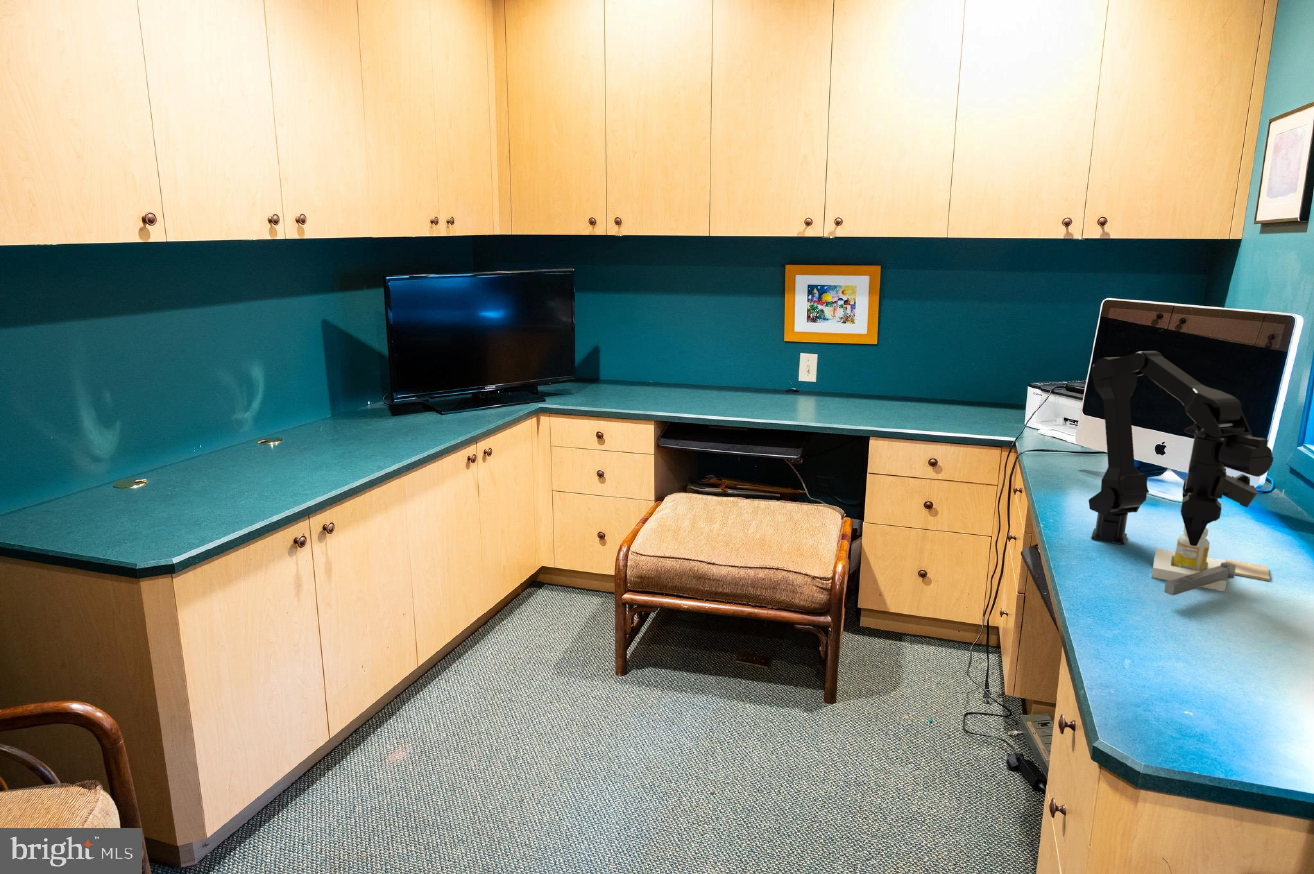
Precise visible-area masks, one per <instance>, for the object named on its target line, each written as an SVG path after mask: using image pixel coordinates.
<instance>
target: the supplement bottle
mask: <svg viewBox="0 0 1314 874" xmlns="http://www.w3.org/2000/svg"><path fill="white" fill-rule="evenodd" d="M1182 531H1183V534H1181V535H1179V536H1178V538H1177V542H1176V547H1175V548H1176V549H1175V558H1174V563H1173V565H1172V566H1175V567H1180V568H1185V569H1190V570H1196V571H1204V570H1205V566H1206V561H1207V557H1208V555H1209V550H1210V544H1211V543H1210V541H1209V539H1208V538H1207V537H1208V535H1209V529H1208V528H1207V527H1206V528H1205V530H1204V532H1203V534H1202V536H1201V538H1200V540H1199V542H1198V544H1197V546H1192V545H1190V543H1189V539H1188V536H1187V532H1186V529H1185V525H1184V526H1183V530H1182Z"/></svg>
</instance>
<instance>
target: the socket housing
mask: <svg viewBox="0 0 1314 874" xmlns="http://www.w3.org/2000/svg"><path fill="white" fill-rule="evenodd" d="M1175 552H1176V550H1171V549H1170V550H1169V549H1164V548H1158V547H1156V548H1155V552H1154V558H1153V566H1152V571H1151V578H1154V579H1155V578H1156V579H1160V580H1164V581H1171V580H1174V579H1177V578H1181V577H1184V576H1187V575H1191V574H1194V573H1197V572H1201V571H1196V570H1190V569H1185V568H1180V567H1175V566H1173V563H1174V558H1175ZM1223 562H1226V559H1225V560H1224V559H1219V558H1218V559H1217V558H1214V557H1212V558H1211V557H1208V556H1207V561H1206V566H1205V570H1207V569H1210V568H1214V567H1217V566H1220V565H1221V563H1223ZM1226 585H1227V579H1224V580H1221V581H1217V582H1214V583H1211V584H1208V585H1205V586H1202V587H1201V588H1205V589H1210V590H1215V589H1216V590H1215V591H1221V592H1225V591H1226Z"/></svg>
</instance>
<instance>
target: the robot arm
mask: <svg viewBox="0 0 1314 874" xmlns="http://www.w3.org/2000/svg"><path fill="white" fill-rule="evenodd" d="M1091 375H1092V381H1093V385H1094V389H1095V390H1096V391H1097V393H1098V394H1099V396H1100V397H1101V399H1102V400H1103V411H1104V425H1105V437H1106V439H1105V441H1106V452H1107V453H1106V454H1107V469H1106V470H1105V472H1104V474H1103V477H1102V479H1101V481H1100V482H1101V485H1100V491H1099V492H1098V493H1096V494H1095V495H1093V496H1091V497H1090V498H1088V505H1089V506H1088V507H1089V510H1091V511H1093V512H1095V513H1097V516H1096V522H1095V523H1096V524H1095V527H1094V528H1093V531H1092V534H1091V536H1090V537H1091V538H1090V539H1093V540H1097V541H1103V542H1108V543H1114V544H1118V545H1125V544H1126V541H1127V537H1128V536H1127V535H1128V534H1127V533H1126V528H1127V520H1128V516H1129V515H1128V514H1130V513H1138V511H1139V509H1140V507H1141V506H1142V505H1143V503H1144V502H1146V501H1147V495H1148V494H1150V491H1149V488H1148V476H1147V474H1146V473H1141V472H1140V471H1139V470H1138V468H1137V466H1136V465H1135V464H1136V463H1135V454H1134V453H1135V451H1134V450H1135V449H1134V439H1133V427H1132V425H1133V424H1132V413H1131V411H1132V410H1131V397H1132V395H1133V393H1134V390H1135V389H1136V387H1137V384H1138V377H1139V376H1143V375H1144V376H1145V377H1147V378H1148V379H1150V380H1151V381H1153V383H1155V384H1156V385H1158V386H1159V387H1160V388H1162V389H1163V390H1164V391H1166V392H1167V393H1168V394H1169V395H1171V396H1172V397H1174V398H1176V399H1177V400H1178V401H1180V403H1181V404H1182V405H1183V407H1184V410H1185V413H1186V414H1187V416H1189V418H1190V419H1191V420H1193V422H1194V423H1193V424H1192V425H1191V426H1189V427H1187V428H1185V429H1184V432H1185V433H1186V434H1189V435H1193V436H1194V439H1193V443H1192V448H1191V455H1190V459H1189V463H1188V471H1187V477H1185V478H1184V480H1183V486H1182V499H1181V500H1182V501H1181V504H1180V515H1181V518H1182V521H1183V525H1184V526H1185V529H1186V532H1187V536H1188V539H1189V543H1190V545H1192V546H1197V544H1198V542H1199V540H1200V538H1201V536H1202V534H1203V532H1204V530H1205V528H1207V526H1208V524H1210V523H1213V522H1217V521H1218V520H1219V519H1220V518H1221V515H1222V514H1221V513H1222V503H1221V502H1220V501H1219V499H1223V496H1224V498H1225V497H1226V498H1227V499H1230V500H1232V501H1234V502H1236V503H1238V504H1239V506H1241V507H1244V508H1249V506H1250V505H1251V503H1252V502H1253V501H1254V499H1255V498H1256V496H1257V495H1258V489H1257V488H1256V487H1255V485H1251V478H1250V476H1253V477H1256V478H1257V477H1262V476H1263V475H1265V474H1266V473H1268V471H1269V470H1271V467H1272V465H1273V462H1274V456H1273V451H1272V449H1271V448H1270V447H1269V446H1268V443H1269V440H1268V439H1267V438H1264V437H1255V436H1253V432H1252V430H1251V428H1250V425H1249V424H1248V421H1247V419H1246V417H1245V415H1244V412H1243V410H1242V409H1243V408H1242V403H1241V401H1240V400H1239V399H1238V398H1236V397H1235V396H1234V395H1231V394H1229V393H1226V392H1224V391H1223V390H1219V389H1215V388H1211V387H1208V386H1206V385H1203V384H1202V383H1200V382H1199V381H1198V380H1196V379H1195V378H1193V377H1192V376H1191V375H1189V374H1188V373H1186V372H1185V371H1183V370H1182V369H1181V368H1179V366H1178V367H1177V366H1176V365H1175V364H1174V363H1172V362H1171V361H1169V360H1168V359H1166V358H1165V357H1164V355H1163V354H1162V353H1161V352H1158V351H1157V350H1147V351H1146V350H1144V351H1143V350H1142V351H1137V352H1135V353H1131V354H1129V355H1125V356H1117V357H1115V356H1114V357H1113V356H1111V357H1101V358H1099V359H1097V360H1096V362H1095V363H1094V364H1093V365H1092V368H1091ZM1230 426H1231V427H1230ZM1227 469H1230V470H1233V471H1236V472H1239V473H1241V474H1239V475H1236V476H1234V475H1233V476H1231V475H1228V474H1227ZM1243 473H1244V474H1243ZM1248 475H1249V476H1248Z"/></svg>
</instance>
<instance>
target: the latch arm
mask: <svg viewBox="0 0 1314 874" xmlns="http://www.w3.org/2000/svg"><path fill="white" fill-rule="evenodd" d="M1235 569H1236V565H1234V564H1231V563H1226V561H1225V562H1223V563H1221V565H1220V566H1217V567H1214V568H1210V569H1207V570H1204V571H1201V572H1197V573H1194V574H1191V575H1187V576H1184V577H1181V578H1177V579H1174V580H1171V581H1169V580H1167V581H1165V585H1164V589H1163V590H1164V591H1163V592H1164V593H1165V594H1167V595H1170V596H1172V597H1173V596H1175V595H1180V594H1182V593H1185V592H1189V591H1191V590H1195V589H1198V588H1203V587H1202V586H1205V585H1208V584H1211V583H1214V582H1217V581H1221V580H1224V579H1226V580H1227V579H1234V578H1235V575H1234V574H1235Z"/></svg>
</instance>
